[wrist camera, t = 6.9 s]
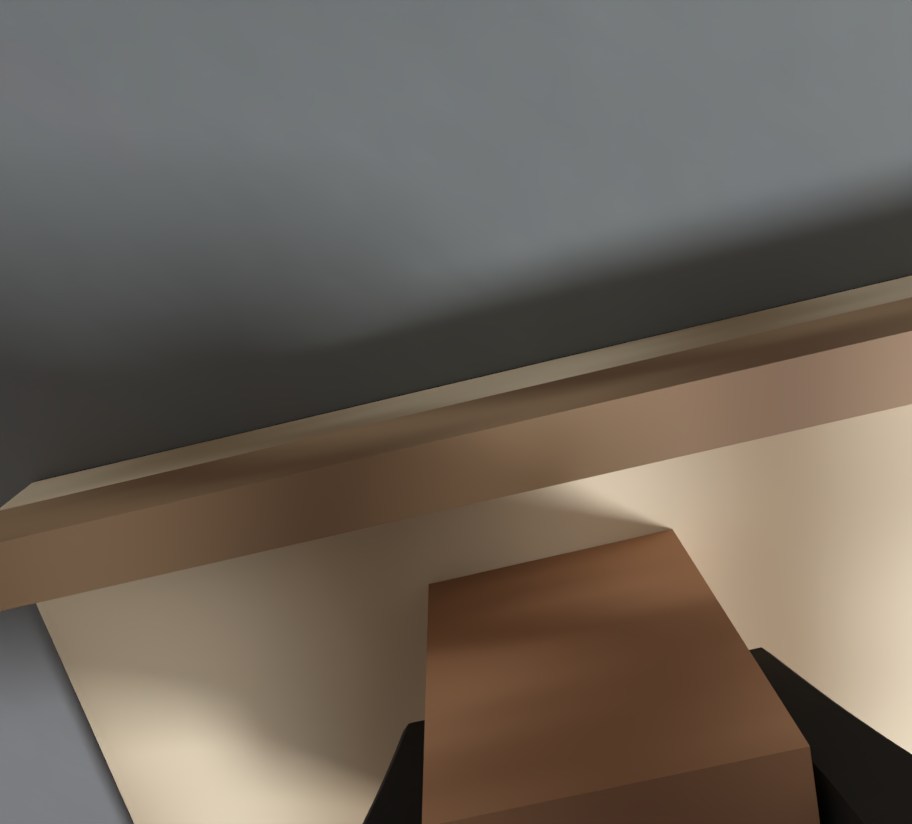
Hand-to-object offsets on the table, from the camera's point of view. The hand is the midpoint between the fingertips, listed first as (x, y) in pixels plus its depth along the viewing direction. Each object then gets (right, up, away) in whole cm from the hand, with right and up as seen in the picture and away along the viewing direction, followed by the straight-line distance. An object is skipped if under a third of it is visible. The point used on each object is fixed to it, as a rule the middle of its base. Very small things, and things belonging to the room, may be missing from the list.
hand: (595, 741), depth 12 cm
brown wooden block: (0, -2, +2) cm, 3 cm away
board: (+3, +2, +3) cm, 4 cm away
